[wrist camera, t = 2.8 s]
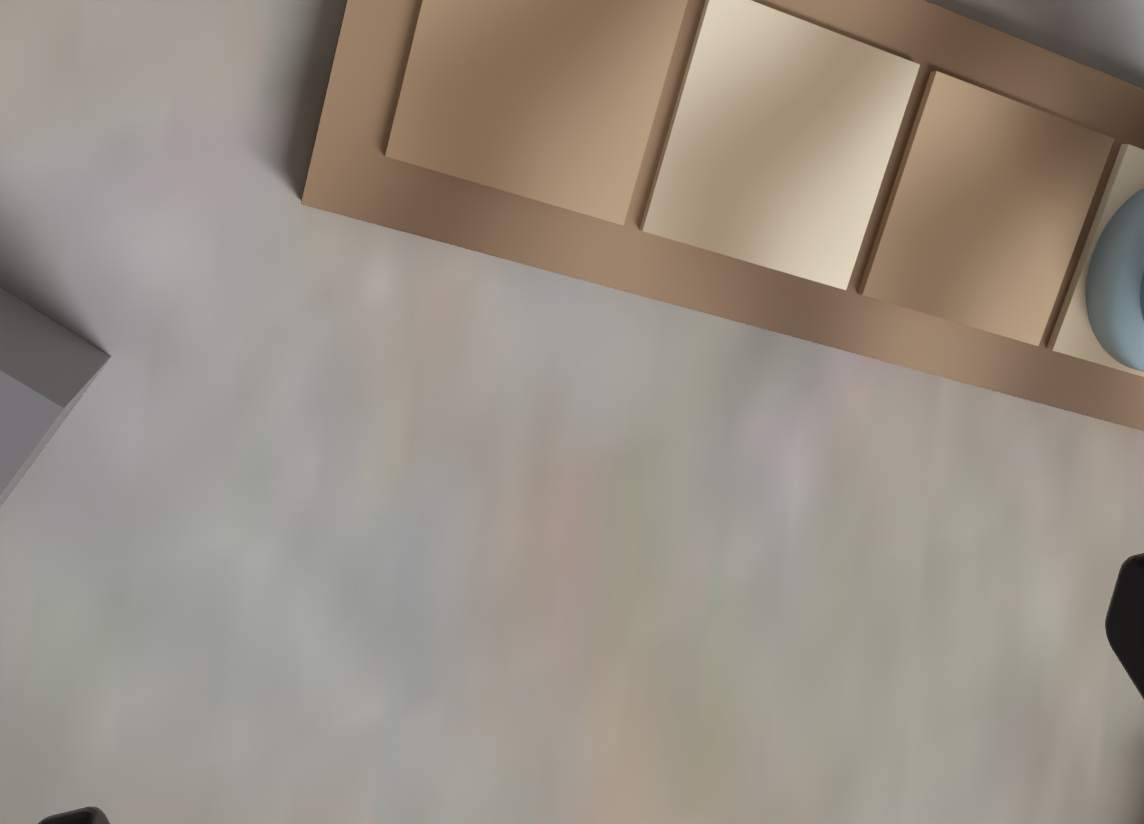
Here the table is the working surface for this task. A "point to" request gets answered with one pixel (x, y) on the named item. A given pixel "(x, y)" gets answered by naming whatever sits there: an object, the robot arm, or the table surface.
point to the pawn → (1119, 285)
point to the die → (36, 383)
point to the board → (758, 168)
